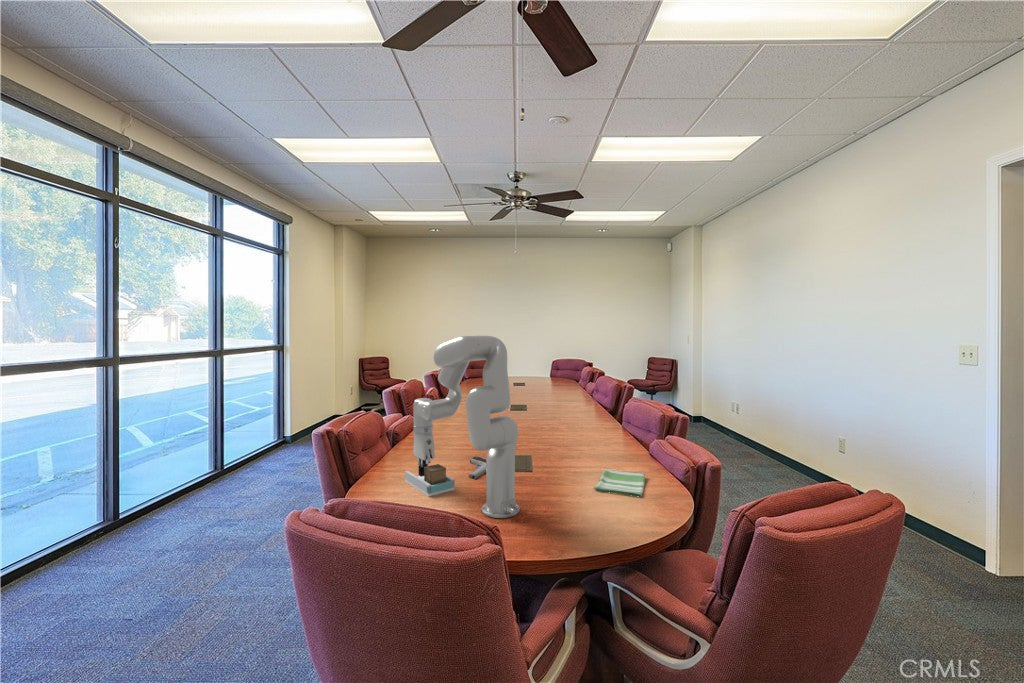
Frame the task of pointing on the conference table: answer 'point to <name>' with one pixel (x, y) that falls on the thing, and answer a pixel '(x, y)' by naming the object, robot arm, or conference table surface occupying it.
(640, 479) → the dish towel
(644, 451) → the conference table surface
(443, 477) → the block
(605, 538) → the conference table surface
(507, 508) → the robot arm
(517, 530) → the conference table surface
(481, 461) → the pistol
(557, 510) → the conference table surface
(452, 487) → the bay
